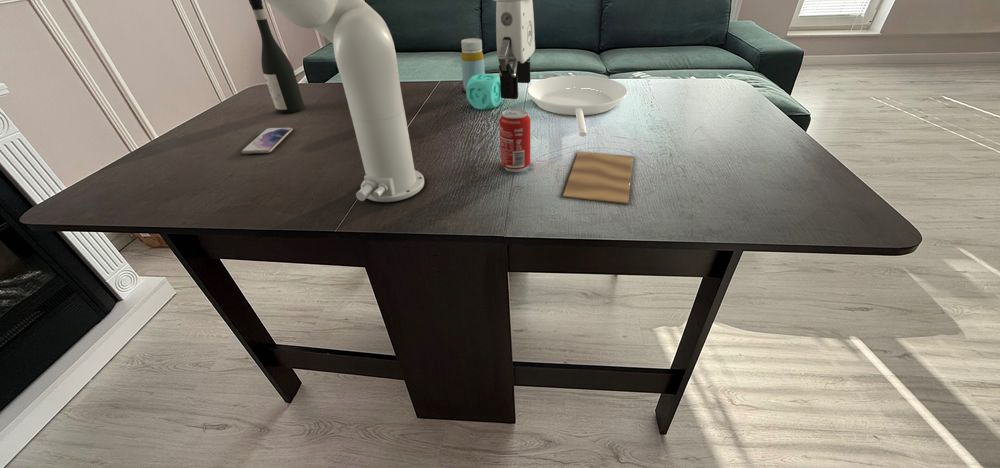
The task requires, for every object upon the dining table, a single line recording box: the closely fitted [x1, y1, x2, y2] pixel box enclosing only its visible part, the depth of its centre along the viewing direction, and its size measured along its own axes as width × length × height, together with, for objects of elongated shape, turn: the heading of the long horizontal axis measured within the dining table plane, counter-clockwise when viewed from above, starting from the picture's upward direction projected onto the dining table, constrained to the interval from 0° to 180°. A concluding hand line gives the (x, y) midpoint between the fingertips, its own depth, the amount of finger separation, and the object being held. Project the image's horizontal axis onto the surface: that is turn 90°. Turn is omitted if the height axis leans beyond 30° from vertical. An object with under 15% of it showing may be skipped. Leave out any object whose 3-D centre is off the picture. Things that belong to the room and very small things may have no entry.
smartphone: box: [241, 126, 293, 155], centre depth 108 cm, size 7×1×15 cm
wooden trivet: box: [562, 151, 634, 205], centre depth 87 cm, size 20×12×1 cm, turn 163°
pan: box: [526, 74, 629, 138], centre depth 116 cm, size 28×44×4 cm, turn 175°
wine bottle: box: [248, 0, 305, 114], centre depth 119 cm, size 8×8×30 cm
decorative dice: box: [465, 73, 503, 111], centre depth 123 cm, size 8×8×8 cm
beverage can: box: [498, 108, 531, 173], centre depth 88 cm, size 6×6×12 cm
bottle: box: [460, 37, 486, 92], centre depth 133 cm, size 7×7×15 cm
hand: (516, 90), depth 82 cm, fingers open, 9 cm apart
